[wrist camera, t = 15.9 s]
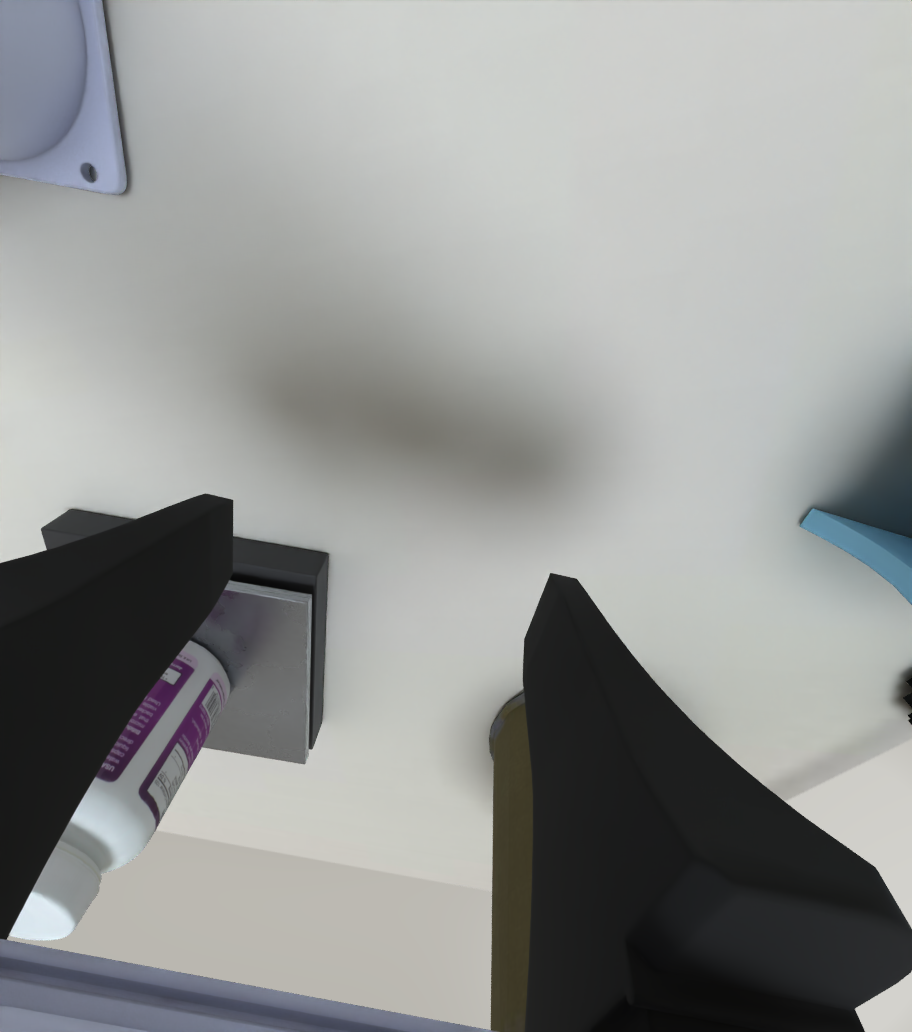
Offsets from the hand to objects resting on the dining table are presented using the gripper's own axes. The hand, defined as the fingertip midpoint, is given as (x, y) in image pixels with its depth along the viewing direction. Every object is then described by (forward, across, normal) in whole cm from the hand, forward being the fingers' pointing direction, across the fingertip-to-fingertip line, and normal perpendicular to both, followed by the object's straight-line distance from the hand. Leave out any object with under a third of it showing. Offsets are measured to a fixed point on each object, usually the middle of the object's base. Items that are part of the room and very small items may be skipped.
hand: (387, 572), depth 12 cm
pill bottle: (+7, +9, +14) cm, 18 cm away
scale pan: (+7, +9, +14) cm, 18 cm away
